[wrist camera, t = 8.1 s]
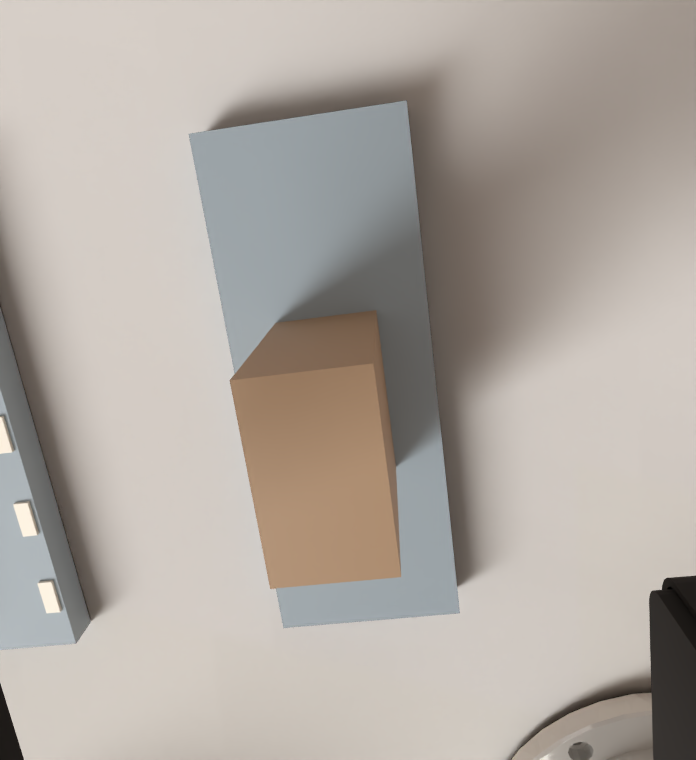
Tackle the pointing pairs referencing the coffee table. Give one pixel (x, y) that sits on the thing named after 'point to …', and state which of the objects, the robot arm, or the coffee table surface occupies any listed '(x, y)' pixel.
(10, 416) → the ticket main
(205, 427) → the coffee table surface
